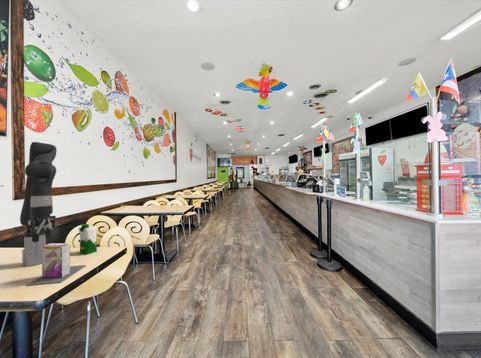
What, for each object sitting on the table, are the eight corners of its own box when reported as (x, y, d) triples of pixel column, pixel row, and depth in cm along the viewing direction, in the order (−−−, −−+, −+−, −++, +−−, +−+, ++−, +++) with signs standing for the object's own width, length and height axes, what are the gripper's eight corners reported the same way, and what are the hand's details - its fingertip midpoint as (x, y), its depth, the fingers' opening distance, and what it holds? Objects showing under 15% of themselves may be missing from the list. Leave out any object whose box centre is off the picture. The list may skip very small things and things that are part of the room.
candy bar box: (41, 278, 101) (40, 246, 101) (51, 273, 106) (50, 243, 106) (61, 278, 100) (61, 246, 100) (70, 273, 105) (70, 242, 105)
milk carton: (77, 254, 136) (76, 225, 136) (90, 249, 145) (90, 222, 145) (86, 255, 133) (85, 225, 133) (99, 250, 142) (99, 223, 142)
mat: (25, 285, 94) (25, 285, 94) (57, 268, 114) (57, 267, 114) (61, 282, 96) (61, 281, 96) (86, 265, 116) (86, 264, 116)
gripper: (45, 203, 101) (45, 236, 101) (18, 207, 87) (18, 244, 87) (61, 203, 103) (61, 235, 102) (38, 206, 88) (38, 243, 88)
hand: (42, 239), depth 95 cm, fingers open, 6 cm apart
